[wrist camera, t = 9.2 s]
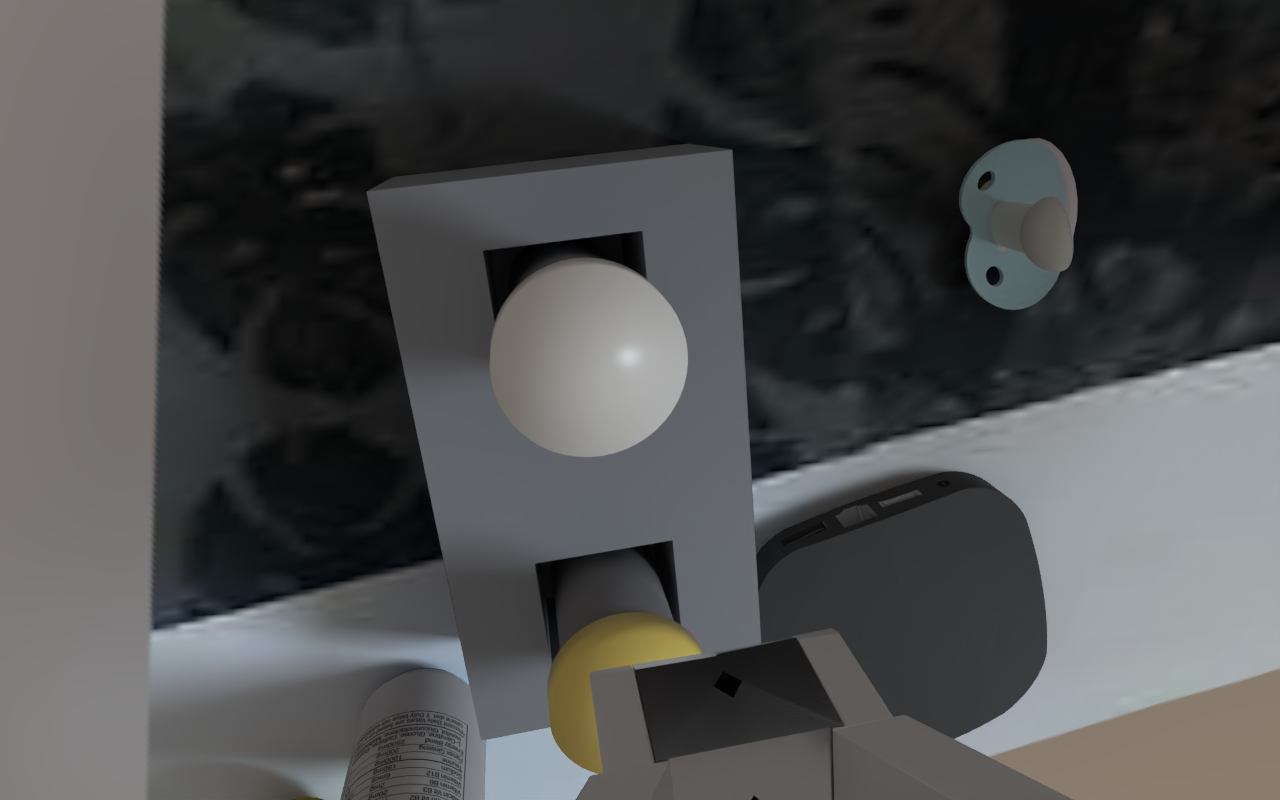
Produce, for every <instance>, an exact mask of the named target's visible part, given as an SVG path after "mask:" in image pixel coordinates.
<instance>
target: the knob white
mask: <svg viewBox="0 0 1280 800" xmlns="http://www.w3.org/2000/svg"><path fill="white" fill-rule="evenodd" d="M508 295H509V296H508V298H507V299H506V301H505V302H504V304H503V305H502V307H501V309H500V311H499V313H498V316H497V318H496V321H495V324H494V327H493V331H492V337H491V345H490V376H491V382H492V386H493V390H494V393H495V396H496V398H497V401H498V404H499V405H500V407H501V409H502V411H503V412H504V414H505V416H506V417H507V418H508V419H509V421H510V422H511V423H512V425H513V426H514V427H515V428H516V429H517V430H518V431H519V432H520V433H522V434H523V435H524V436H525V437H527V438H528V439H529V440H531V441H532V442H534V443H536V444H537V445H539V446H541V447H543V448H545V449H548V450H550V451H553V452H556V453H560V454H563V455H568V456H575V457H596V456H604V455H609V454H613V453H617V452H619V451H622V450H625V449H627V448H630V447H632V446H634V445H636V444H638V443H639V442H641V441H642V440H644V439H645V438H647V437H648V436H649V435H651V434H652V433H653V432H654V431H655V430H657V429H658V428H659V427H660V425H661V424H662V423H663V422H664V421H665V420H666V419H667V417H668V416H669V415H670V413H671V412H672V411H673V409H674V407H675V405H676V404H677V402H678V400H679V398H680V395H681V393H682V390H683V388H684V384H685V380H686V375H687V367H688V350H687V344H686V338H685V335H684V331H683V328H682V325H681V323H680V321H679V319H678V317H677V315H676V313H675V312H674V310H673V308H672V307H671V305H670V304H669V303H668V302H667V300H666V299H665V298H664V297H663V296H662V295H661V293H660V292H659V291H658V290H657V289H656V288H655V287H654V286H653V285H652V284H651V283H650V282H649V281H648V280H647V279H645V278H644V277H643V276H641V275H640V274H639V273H637V272H636V271H634V270H632V269H630V268H628V267H626V266H624V265H622V264H619V263H616V262H613V261H609V259H608V258H607V257H606V256H605V254H604V253H603V252H602V251H601V250H600V249H599V248H598V247H597V246H596V245H595V244H593V243H592V242H591V241H589V240H587V239H585V238H581V239H573V240H565V241H557V242H549V243H541V244H533V245H527V246H526V247H525V248H524V249H523V250H522V251H521V252H520V253H519V255H518V256H517V258H516V259H515V261H514V263H513V265H512V268H511V271H510V274H509V280H508Z"/></svg>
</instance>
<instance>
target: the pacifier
mask: <svg viewBox="0 0 1280 800" xmlns="http://www.w3.org/2000/svg"><path fill="white" fill-rule="evenodd" d="M987 171H989V172H990V173H991V180H989V181H988V182H987V183H985V184H984V185H983V186H982V187H981V189H980V190H979V189H978V181H979V179H980V177H981V176H982V175H983V174H984V173H985V172H987ZM1077 200H1078V199H1077V192H1076V184H1075V180H1074V177H1073V174H1072V171H1071V168H1070V165H1069V164H1068V162H1067V160H1066V159H1065V157H1064V155H1063V154H1062V152H1061V151H1060V150H1059V149H1057V148H1056V147H1055V146H1054V145H1053V144H1052V143H1051V142H1048V141H1046V140H1043V139H1041V138H1034V139H1026V140H1013V141H1009V142H1005V143H1003V144H1000V145H998V146H996V147H994V148H992V149H991V150H989V151H988V152H986V153H985V154H984V155H983V156H981V157H980V158H979V159H978V160H977V161H976V162H975V163H974V164H973V165H972V167H971V168H970V169H969V171H968V172H967V174H966V176H965V178H964V180H963V182H962V185H961V188H960V192H959V206H960V211H961V214H962V216H963V218H964V220H965V221H966V222H967V224H968V225H969V227H970V237H969V239H968V242H967V245H966V250H965V269H966V274H967V277H968V280H969V282H970V284H971V286H972V287H973V289H974V290H975V291H976V292H977V293H978V294H979V295H980V296H981V297H982V298H983V299H984V300H986V301H987V302H989V303H991V304H993V305H995V306H997V307H1000V308H1003V309H1010V310H1017V309H1023V308H1026V307H1030V306H1032V305H1033V304H1035V303H1037V302H1038V301H1040V300H1041V299H1042V298H1043V297H1044V296H1045V295H1046V294H1047V293H1048V291H1049V290H1050V289H1051V288H1052V287H1053V285H1054V284H1055V282H1056V281H1057V278H1058V275H1059V273H1060V271H1064V270H1066V269H1067V268H1068V267H1069V265H1070V263H1071V260H1072V256H1073V235H1074V231H1075V225H1076V220H1077ZM992 266H995V267H996V268H997V269H998V270H999V273H1000V279H999V282H998V283H997V284H995V285H990V284H989V283H988V282H987V279H986V272H987V270H988V269H989V268H990V267H992Z"/></svg>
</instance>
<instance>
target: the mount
mask: <svg viewBox="0 0 1280 800" xmlns="http://www.w3.org/2000/svg"><path fill="white" fill-rule="evenodd" d="M367 196H368V201H369V206H370V211H371V216H372V220H373V225H374V230H375V235H376V240H377V244H378V249H379V254H380V259H381V263H382V268H383V273H384V278H385V283H386V287H387V292H388V297H389V302H390V307H391V311H392V316H393V321H394V326H395V330H396V335H397V340H398V345H399V350H400V354H401V359H402V364H403V369H404V374H405V378H406V383H407V388H408V393H409V397H410V402H411V407H412V412H413V417H414V421H415V426H416V431H417V436H418V441H419V445H420V450H421V455H422V460H423V464H424V469H425V474H426V479H427V484H428V488H429V493H430V498H431V503H432V508H433V512H434V517H435V522H436V527H437V531H438V536H439V541H440V546H441V551H442V555H443V560H444V565H445V570H446V575H447V579H448V584H449V589H450V594H451V599H452V603H453V608H454V613H455V618H456V622H457V627H458V632H459V637H460V642H461V646H462V651H463V656H464V661H465V666H466V670H467V675H468V680H469V685H470V689H471V694H472V699H473V704H474V709H475V713H476V718H477V723H478V728H479V733H480V737H481V740H486V739H491V738H497V737H502V736H507V735H512V734H517V733H522V732H527V731H533V730H538V729H543V728H548V727H550V719H549V706H548V694H547V681H548V675H549V671H550V668H551V666H552V663H553V661H554V659H555V657H556V655H557V653H558V652H559V651H560V643H559V634H558V625H557V616H556V607H555V598H554V590H553V581H552V572H551V563H550V561H554V560H560V559H566V558H572V557H578V556H583V555H589V554H595V553H601V552H607V551H613V550H618V549H624V548H630V547H636V546H642V545H648V547H649V550H650V553H651V556H652V559H653V562H654V565H655V567H656V570H657V573H658V576H659V579H660V582H661V585H662V588H663V591H664V594H665V596H666V599H667V602H668V605H669V608H670V611H671V614H672V617H673V620H674V621H675V622H677V623H679V624H680V625H682V626H683V627H684V628H686V629H687V630H688V631H689V632H690V633H691V634H692V635H693V636H694V638H695V639H696V640H697V642H698V643H699V645H700V647H701V649H702V651H703V653H708V652H718V651H723V650H729V649H734V648H739V647H745V646H750V645H755V644H761V631H760V614H759V597H758V580H757V563H756V546H755V529H754V512H753V495H752V477H751V460H750V443H749V426H748V409H747V392H746V375H745V358H744V341H743V324H742V307H741V290H740V273H739V256H738V239H737V222H736V205H735V188H734V171H733V154H732V150H731V149H724V148H716V147H709V146H701V145H694V144H680V145H671V146H662V147H653V148H645V149H636V150H627V151H618V152H609V153H600V154H592V155H583V156H574V157H565V158H556V159H547V160H538V161H530V162H521V163H512V164H503V165H494V166H485V167H476V168H468V169H459V170H450V171H441V172H432V173H423V174H415V175H406V176H397V177H392V178H391V179H389V180H387V181H385V182H383V183H381V184H380V185H378V186H376V187H374V188H372V189H370V190H369V191H367ZM581 238H585V239H587V240H589V241H591V242H592V243H593V244H595V245H596V246H597V247H598V248H599V249H600V250H601V251H602V252H603V253H604V254H605V256H606V257H607V258H608V259H609V261H613V262H616V263H619V264H622V265H624V266H626V267H628V268H630V269H632V270H634V271H636V272H637V273H639V274H640V275H641V276H643V277H644V278H645V279H647V280H648V281H649V282H650V283H651V284H652V285H653V286H654V287H655V288H656V289H657V290H658V291H659V292H660V293H661V295H662V296H663V297H664V298H665V299H666V300H667V302H668V303H669V304H670V305H671V307H672V308H673V310H674V312H675V313H676V315H677V317H678V319H679V321H680V323H681V325H682V328H683V331H684V335H685V338H686V344H687V350H688V367H687V375H686V380H685V384H684V388H683V390H682V393H681V395H680V398H679V400H678V402H677V404H676V405H675V407H674V409H673V411H672V412H671V413H670V415H669V416H668V417H667V419H666V420H665V421H664V422H663V423H662V424H661V425H660V427H659V428H658V429H657V430H655V431H654V432H653V433H652V434H651V435H649V436H648V437H647V438H645V439H644V440H642V441H641V442H639V443H638V444H636V445H634V446H632V447H630V448H627V449H625V450H622V451H619V452H617V453H613V454H609V455H604V456H596V457H575V456H568V455H563V454H560V453H556V452H553V451H550V450H548V449H545V448H543V447H541V446H539V445H537V444H536V443H534V442H532V441H531V440H529V439H528V438H527V437H525V436H524V435H523V434H522V433H520V432H519V431H518V430H517V429H516V428H515V427H514V426H513V425H512V423H511V422H510V421H509V419H508V418H507V417H506V416H505V414H504V412H503V411H502V409H501V407H500V405H499V404H498V401H497V398H496V396H495V393H494V390H493V386H492V382H491V376H490V345H491V337H492V331H493V327H494V324H495V321H496V318H497V316H498V313H499V311H500V309H501V307H502V305H503V304H504V302H505V301H506V299H507V298H508V296H509V295H508V280H509V274H510V271H511V268H512V265H513V263H514V261H515V259H516V258H517V256H518V255H519V253H520V252H521V251H522V250H523V249H524V248H525V247H526V246H527V245H533V244H541V243H549V242H557V241H565V240H573V239H581Z"/></svg>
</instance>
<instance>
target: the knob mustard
mask: <svg viewBox="0 0 1280 800" xmlns="http://www.w3.org/2000/svg"><path fill="white" fill-rule="evenodd" d="M550 563H551V572H552V581H553V590H554V598H555V607H556V616H557V625H558V634H559V643H560V651H559V652H558V653H557V655H556V657H555V659H554V661H553V663H552V666H551V668H550V671H549V675H548V681H547V694H548V706H549V719H550V727H551V731H552V734H553V737H554V739H555V741H556V743H557V745H558V746H559V748H560V749H561V750H562V752H563V753H564V754H565V755H566V756H567V757H568V758H569V759H571V760H572V761H573V762H574V763H576V764H577V765H579V766H581V767H582V768H585V769H587V770H589V771H591V772H595V773H598V774H602V773H603V769H602V762H601V755H600V748H599V741H598V734H597V726H596V719H595V712H594V705H593V698H592V691H591V684H590V672H593V671H599V670H605V669H610V668H616V667H622V666H628V665H631V667H632V668H633V664H639V663H645V662H651V661H658V660H664V659H670V658H677V657H683V656H689V655H696V654H702V653H703V651H702V649H701V647H700V645H699V643H698V642H697V640H696V639H695V638H694V636H693V635H692V634H691V633H690V632H689V631H688V630H687V629H686V628H684V627H683V626H682V625H680V624H679V623H677V622H675V621H674V620H673V617H672V614H671V611H670V608H669V605H668V602H667V599H666V596H665V594H664V591H663V588H662V585H661V582H660V579H659V576H658V573H657V570H656V567H655V565H654V562H653V559H652V556H651V553H650V550H649V547H648V545H642V546H636V547H630V548H624V549H618V550H613V551H607V552H601V553H595V554H589V555H583V556H578V557H572V558H566V559H560V560H554V561H550Z"/></svg>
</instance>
